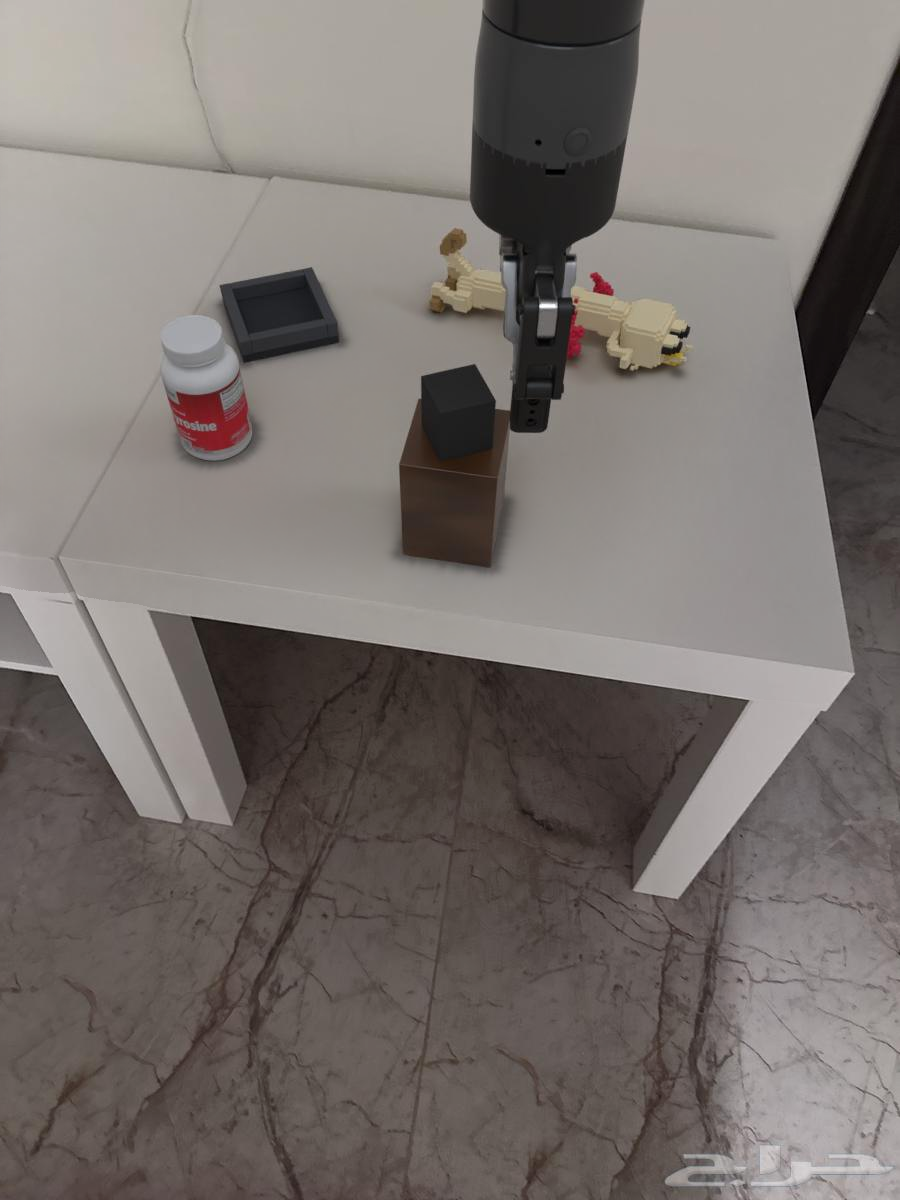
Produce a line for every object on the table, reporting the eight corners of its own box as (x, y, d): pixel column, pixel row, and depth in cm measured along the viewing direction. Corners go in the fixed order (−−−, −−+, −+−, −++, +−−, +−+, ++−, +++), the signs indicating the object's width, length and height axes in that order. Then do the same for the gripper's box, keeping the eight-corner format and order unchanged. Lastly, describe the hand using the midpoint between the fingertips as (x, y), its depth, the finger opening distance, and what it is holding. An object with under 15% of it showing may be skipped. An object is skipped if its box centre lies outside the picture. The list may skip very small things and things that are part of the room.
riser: (402, 554, 73) (398, 464, 65) (420, 490, 77) (418, 397, 69) (490, 567, 72) (497, 478, 64) (503, 502, 76) (511, 410, 68)
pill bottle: (166, 445, 79) (132, 340, 70) (212, 404, 83) (186, 299, 74) (223, 473, 78) (195, 369, 69) (268, 430, 81) (247, 325, 72)
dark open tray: (243, 362, 86) (239, 342, 84) (223, 304, 91) (219, 284, 89) (339, 342, 88) (337, 322, 86) (314, 287, 93) (312, 266, 91)
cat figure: (422, 336, 90) (671, 396, 83) (413, 255, 84) (685, 311, 76) (464, 282, 96) (702, 332, 88) (459, 201, 89) (717, 248, 81)
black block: (439, 462, 65) (440, 413, 61) (421, 424, 67) (420, 375, 63) (492, 448, 66) (496, 400, 62) (473, 412, 68) (475, 363, 64)
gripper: (469, 48, 48) (461, 309, 62) (476, 196, 40) (465, 463, 53) (612, 50, 49) (573, 310, 62) (649, 198, 40) (595, 464, 53)
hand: (523, 381), depth 57 cm, fingers open, 8 cm apart
